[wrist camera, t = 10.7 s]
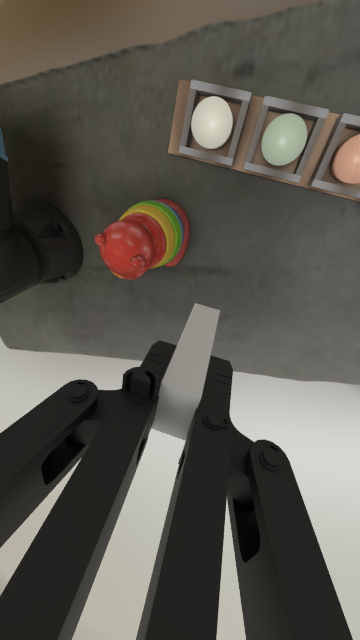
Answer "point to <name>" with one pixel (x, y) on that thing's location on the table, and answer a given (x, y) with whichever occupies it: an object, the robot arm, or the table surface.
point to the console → (249, 131)
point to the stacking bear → (145, 238)
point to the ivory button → (212, 123)
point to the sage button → (284, 139)
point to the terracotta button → (346, 161)
